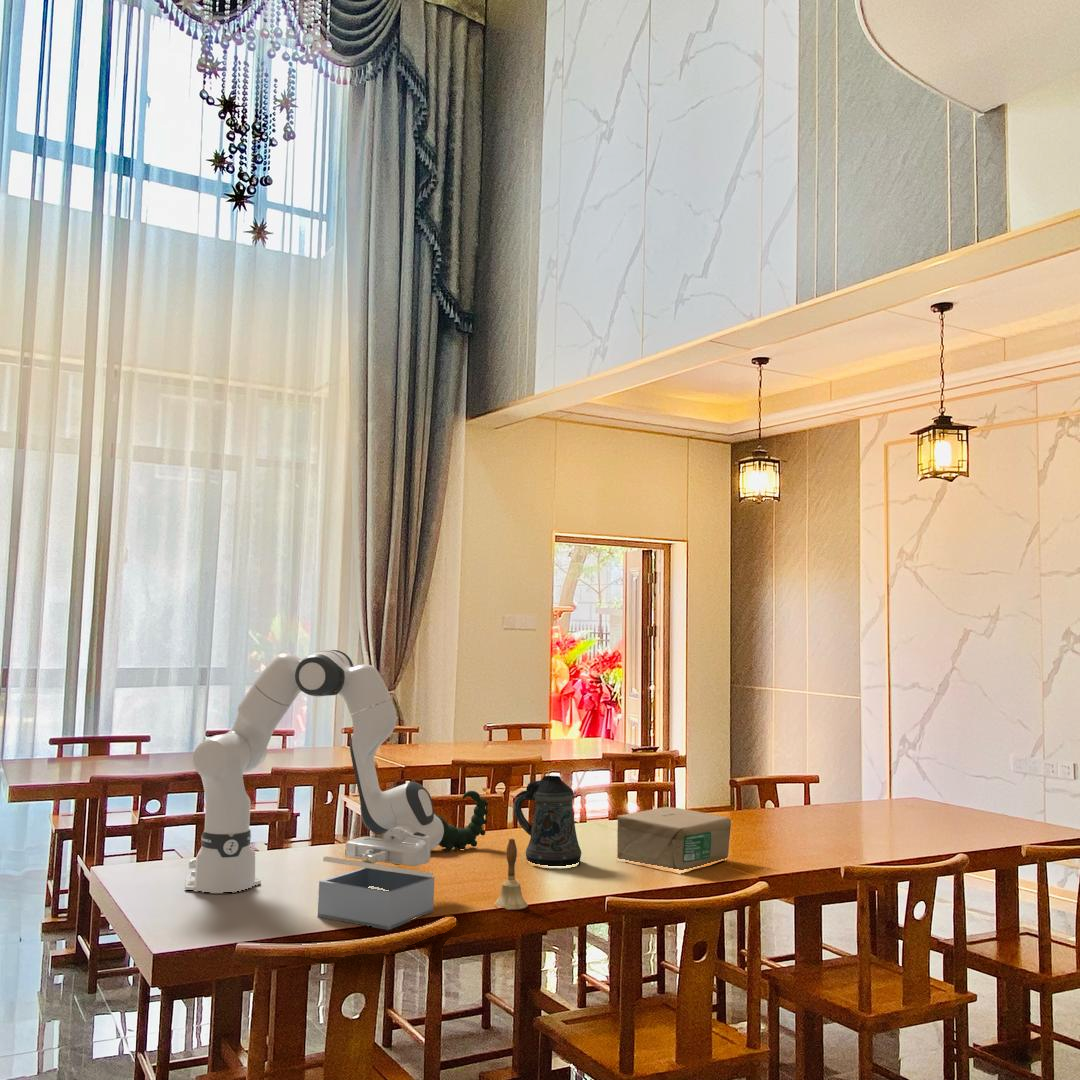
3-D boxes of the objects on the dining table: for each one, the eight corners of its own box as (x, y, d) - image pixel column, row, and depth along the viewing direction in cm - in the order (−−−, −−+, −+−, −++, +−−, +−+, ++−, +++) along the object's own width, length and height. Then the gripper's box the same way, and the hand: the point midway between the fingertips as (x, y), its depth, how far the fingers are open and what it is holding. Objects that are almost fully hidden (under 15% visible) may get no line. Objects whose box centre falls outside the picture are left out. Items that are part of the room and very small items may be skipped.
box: (365, 900, 249) (366, 866, 250) (433, 911, 240) (434, 877, 240) (317, 916, 233) (319, 881, 233) (388, 930, 224) (390, 893, 224)
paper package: (682, 876, 285) (683, 825, 287) (611, 861, 302) (612, 813, 304) (733, 862, 305) (734, 815, 306) (664, 849, 322) (664, 804, 324)
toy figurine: (475, 850, 320) (401, 848, 309) (482, 789, 323) (408, 785, 312) (487, 856, 312) (411, 854, 301) (494, 793, 314) (419, 789, 303)
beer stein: (590, 867, 292) (592, 779, 294) (528, 871, 285) (530, 781, 287) (567, 855, 307) (569, 772, 310) (507, 859, 300) (510, 774, 302)
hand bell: (494, 910, 243) (496, 842, 245) (493, 901, 251) (495, 835, 253) (529, 910, 244) (530, 842, 245) (526, 901, 252) (528, 836, 254)
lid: (365, 866, 249) (366, 862, 249) (432, 877, 240) (433, 872, 240) (322, 861, 234) (323, 856, 235) (392, 871, 225) (393, 866, 226)
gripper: (364, 827, 250) (330, 840, 238) (435, 836, 242) (404, 850, 229) (364, 853, 250) (330, 867, 238) (435, 863, 242) (404, 878, 229)
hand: (367, 859), depth 233 cm, fingers closed, pressing on lid
